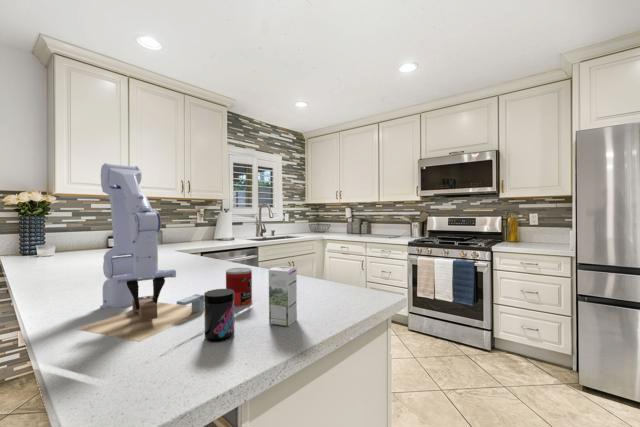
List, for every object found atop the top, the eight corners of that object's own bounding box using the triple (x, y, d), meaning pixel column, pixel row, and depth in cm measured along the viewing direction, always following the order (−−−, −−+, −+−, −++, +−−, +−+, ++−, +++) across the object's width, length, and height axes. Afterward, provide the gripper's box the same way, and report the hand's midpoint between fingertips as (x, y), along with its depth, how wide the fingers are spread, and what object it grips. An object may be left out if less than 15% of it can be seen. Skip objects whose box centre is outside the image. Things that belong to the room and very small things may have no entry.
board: (75, 332, 73) (75, 328, 73) (156, 304, 95) (156, 301, 95) (139, 344, 66) (139, 341, 66) (210, 311, 88) (210, 308, 88)
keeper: (176, 318, 80) (176, 301, 80) (196, 309, 87) (196, 294, 87) (185, 319, 79) (184, 302, 79) (204, 310, 86) (204, 295, 86)
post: (137, 310, 87) (137, 298, 87) (144, 308, 89) (143, 296, 89) (142, 311, 86) (142, 298, 86) (149, 309, 88) (149, 296, 88)
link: (132, 309, 88) (132, 298, 88) (152, 306, 91) (152, 295, 91) (137, 321, 72) (137, 308, 73) (161, 317, 76) (161, 304, 76)
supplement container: (207, 345, 66) (206, 298, 66) (202, 334, 71) (201, 291, 71) (238, 338, 69) (237, 293, 69) (230, 329, 75) (230, 287, 75)
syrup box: (297, 319, 81) (297, 266, 81) (288, 327, 75) (288, 270, 75) (278, 317, 83) (278, 264, 83) (268, 325, 77) (267, 268, 77)
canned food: (245, 309, 90) (245, 272, 90) (221, 307, 91) (220, 271, 91) (256, 301, 97) (255, 267, 97) (233, 300, 99) (233, 267, 99)
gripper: (113, 261, 73) (113, 316, 73) (177, 255, 81) (178, 305, 82) (112, 257, 79) (113, 309, 79) (173, 253, 87) (173, 299, 87)
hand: (146, 307), depth 81 cm, fingers closed on link, 3 cm apart
